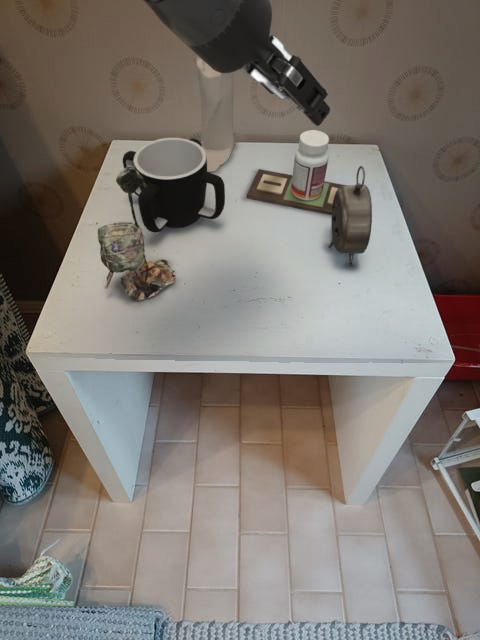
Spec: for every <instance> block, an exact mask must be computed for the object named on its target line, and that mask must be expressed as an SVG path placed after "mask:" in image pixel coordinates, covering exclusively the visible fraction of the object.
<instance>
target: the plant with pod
mask: <svg viewBox="0 0 480 640" xmlns="http://www.w3.org/2000/svg"><path fill="white" fill-rule="evenodd" d="M115 182H116V184H117V185H118V186H119V188H120V189H121V190H122V192H124V193H125V194H127V197H128V201H129V204H130V209H131V215H132V219H133V222H134V223H133V222H132V221H131V222H128V221H119V222H113V223H110V224H105V225H103V226H100V227H98V228H97V241H98V243H99V245H100V248H99V249H100V250H99V255H100V261H101V263H102V264H103V266H105V268H107V269H108V271H109V272H108V274H107V276H106V281H105V285H104V289H106V290H107V289H108V287H109V286H110V283H111V280H112V278H113V276H114V273H116V274H119V273H124V272H125V273H124V274H122V276H121V277H119V279H120V280H119V284H120V285H121V286H122V287H123V289H124V292H125V294H126V295H127V296H128V299H130V300H132V301H133V302H137V301H138V302H141V301H143V300H146V299H148V298H151V297H154V296H156V295H157V294H158V293H159V292H160V291H161V290H162V289H166V288H167V285H170V284H175V283H176V280H177V279H176V278H177V277H176V275H175V274H174V273H176V272H175V271H176V270H173V269H171V266H170V264H168V260H167V259H162V258H161V259H159V260H156V261H154V262H153V261H147V258H146V253H145V252H146V250H145V235H144V233H143V229H142V228H141V226H140V225H139V224H138V220H137V215H136V212H135V207H134V200H133V195H132V194H135V193H134V192H135V191H136V190H137V188H138V187H139V186H140V185H143V186H144V187H146V186H147V185H146V184H145V183H144V182H143V177H142V176H141V174H140V173H139V172H138V171H136V169H134V168H133V167H132V166H130V165H129V166H127V167H126V168H125V169H124V168H123V169H122V170H121V171H119V172H118V174H117V176H116V179H115ZM98 224H99V222H95V224H94V225H95V226H96V225H97V226H98Z"/></svg>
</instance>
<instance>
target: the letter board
mask: <svg viewBox="0 0 480 640" xmlns="http://www.w3.org/2000/svg"><path fill="white" fill-rule="evenodd" d="M292 176H293V174H288V173H283V172H277V171H272V170H268V169H267V170H266V169H262V168H258V170H257V172H256V174H255V176H254V178H253V181H251V185H250V187H249V189H248V191H247V193H246V199H250V200H254V201H259V202H264V203H269V204H274V205H280V206H284V207H290V208H294V209H298V210H299V209H300V210H305V211H308V212H309V211H310V212H313V213H318V214H319V213H320V214H325V215H329V216H332V208H331V205H333V200H334V196H335V193H336V191H337V190H338V189H339V188H340V187H341V186H347V185H346V184H342V183H337V182H331V181H324V186H323V191H322V194H321V195H320V197H318V198H317V199H314V200H301V199H299V198H297V197H295V196H294V195H293V194H292V192H291V184H292Z"/></svg>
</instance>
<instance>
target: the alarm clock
mask: <svg viewBox="0 0 480 640" xmlns="http://www.w3.org/2000/svg"><path fill="white" fill-rule="evenodd" d="M361 170H362V179H361V183H359V175H360V174H359V173H360V171H361ZM365 180H366V170H365V167H364V166H363V165H360V166H359V167H358V169H357V171H356V180H355V181H356V184H353V185H352V184H350V185H349V184H348V185H347V186H341V187H340V188H339V189H338V190H337V191H336V193H335V196H334V200H333V205H331V208H332V215H331V222H330V223H331V226H330V227H331V242H330V244H329V245H328V249H331V248H332V247H334V249H335V251H336V252H337V253H339V254H344V255H346V254H348V258H349V259H348V262H349V263H348V266H349V267H353V266H354V264H353V262H354V254H364V253H365V252H366V250H367V248H368V246H369V243H370V239H371V235H372V234H371V232H372V225H373V203H372V197H371V192H370V189H369V187H368V186H367V185H366V184H365Z"/></svg>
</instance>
